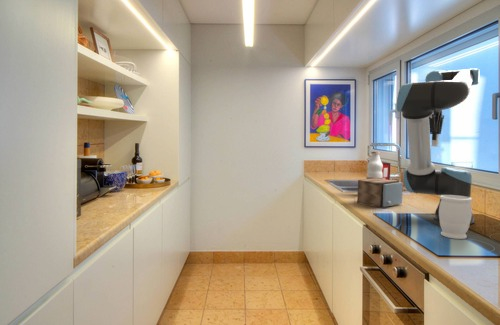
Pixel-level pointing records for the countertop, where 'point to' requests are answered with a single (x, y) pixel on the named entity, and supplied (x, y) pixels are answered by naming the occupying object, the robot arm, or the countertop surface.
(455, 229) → the jar
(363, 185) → the cabinet
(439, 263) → the countertop surface
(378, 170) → the white ceramic bottle shape
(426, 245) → the countertop surface
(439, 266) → the countertop surface
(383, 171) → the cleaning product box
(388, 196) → the door
